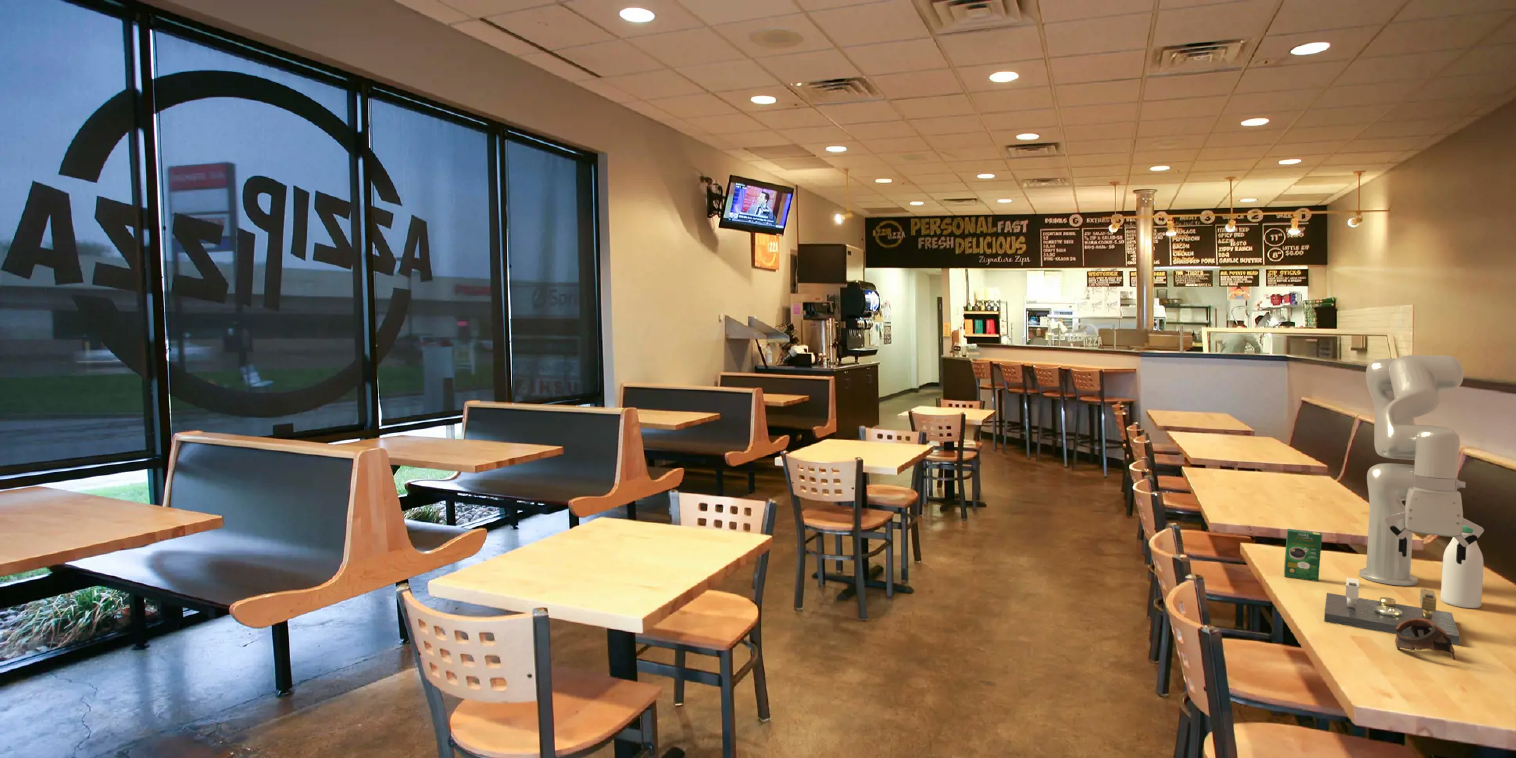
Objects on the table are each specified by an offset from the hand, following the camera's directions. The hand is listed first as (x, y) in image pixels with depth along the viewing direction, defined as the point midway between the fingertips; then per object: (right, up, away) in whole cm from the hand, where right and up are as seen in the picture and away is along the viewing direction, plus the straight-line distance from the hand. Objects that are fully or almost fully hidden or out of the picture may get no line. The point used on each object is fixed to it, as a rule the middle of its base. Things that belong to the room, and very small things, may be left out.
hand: (1431, 559), depth 185 cm
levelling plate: (-5, -16, +6) cm, 18 cm away
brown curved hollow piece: (-12, -17, -12) cm, 24 cm away
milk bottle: (+22, -15, +18) cm, 32 cm away
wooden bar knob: (0, -14, +1) cm, 14 cm away
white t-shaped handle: (-11, -13, +10) cm, 20 cm away
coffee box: (-4, -14, +38) cm, 41 cm away
